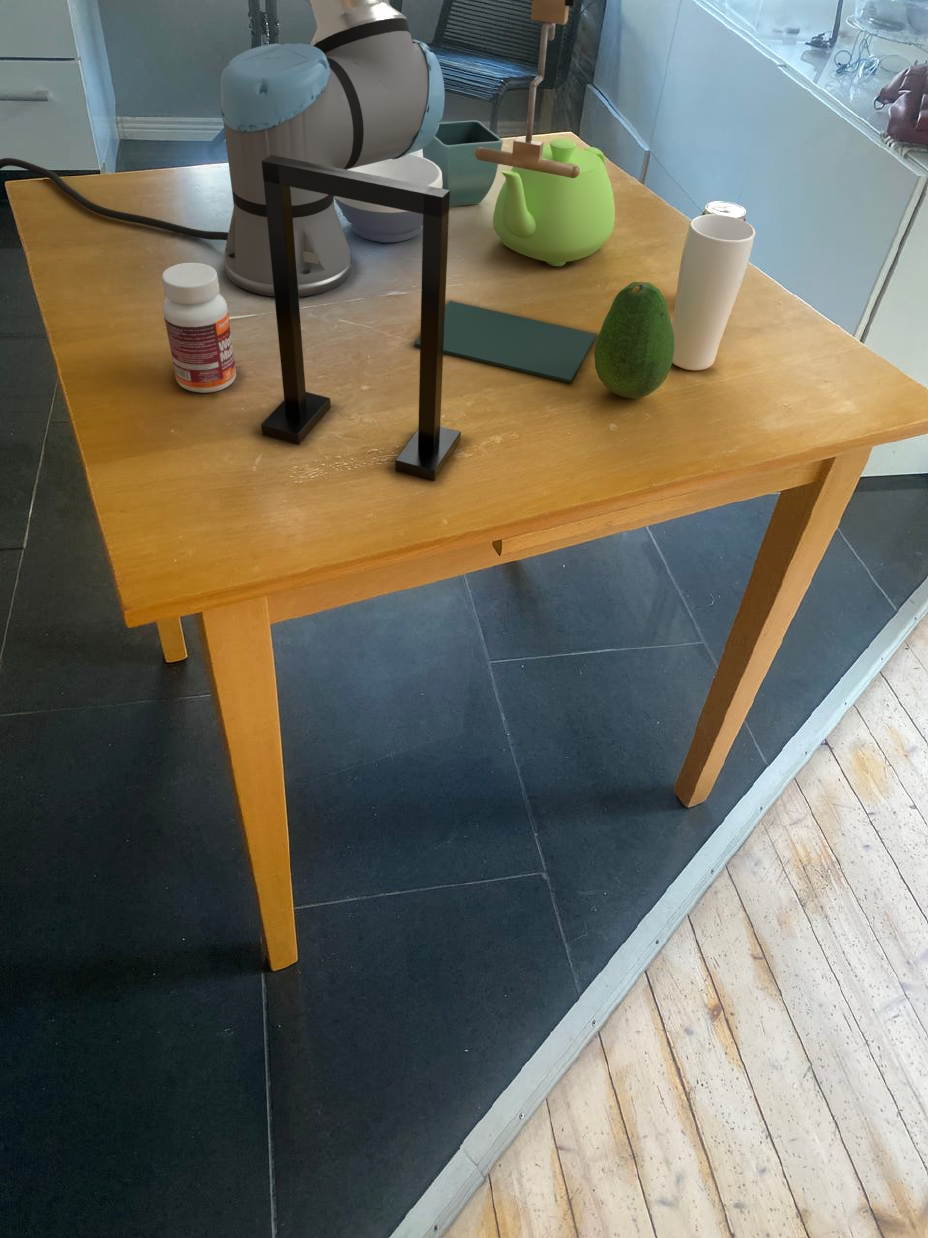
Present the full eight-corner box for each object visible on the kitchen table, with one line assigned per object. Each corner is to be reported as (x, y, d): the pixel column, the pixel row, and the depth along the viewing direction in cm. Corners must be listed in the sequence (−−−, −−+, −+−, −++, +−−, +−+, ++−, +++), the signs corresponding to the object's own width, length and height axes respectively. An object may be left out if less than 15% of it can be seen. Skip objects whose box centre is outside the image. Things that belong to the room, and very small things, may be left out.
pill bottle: (238, 392, 97) (224, 287, 89) (176, 397, 96) (156, 290, 88) (234, 361, 101) (221, 258, 93) (175, 365, 100) (156, 261, 92)
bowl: (448, 252, 122) (451, 192, 117) (335, 255, 120) (332, 193, 115) (432, 206, 132) (434, 149, 127) (327, 208, 130) (325, 149, 125)
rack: (261, 434, 92) (230, 169, 74) (295, 398, 97) (273, 140, 79) (434, 481, 88) (444, 213, 71) (460, 441, 93) (476, 180, 75)
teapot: (541, 296, 115) (554, 185, 106) (447, 256, 122) (452, 149, 112) (638, 242, 128) (657, 139, 118) (548, 208, 134) (560, 108, 125)
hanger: (472, 160, 95) (484, -84, 80) (491, 140, 98) (505, -97, 84) (576, 180, 92) (608, -68, 78) (591, 159, 96) (624, -82, 81)
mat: (414, 346, 105) (415, 343, 105) (450, 303, 113) (450, 300, 112) (570, 383, 102) (570, 380, 101) (596, 336, 109) (596, 333, 109)
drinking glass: (683, 381, 103) (717, 245, 92) (647, 351, 107) (675, 218, 97) (732, 368, 106) (770, 235, 95) (695, 340, 110) (728, 209, 99)
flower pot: (473, 184, 139) (477, 118, 132) (499, 208, 133) (504, 140, 127) (417, 190, 136) (419, 123, 130) (441, 215, 130) (444, 146, 124)
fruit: (651, 422, 97) (676, 313, 89) (578, 402, 99) (595, 293, 90) (671, 385, 102) (696, 279, 94) (602, 367, 104) (620, 261, 96)
